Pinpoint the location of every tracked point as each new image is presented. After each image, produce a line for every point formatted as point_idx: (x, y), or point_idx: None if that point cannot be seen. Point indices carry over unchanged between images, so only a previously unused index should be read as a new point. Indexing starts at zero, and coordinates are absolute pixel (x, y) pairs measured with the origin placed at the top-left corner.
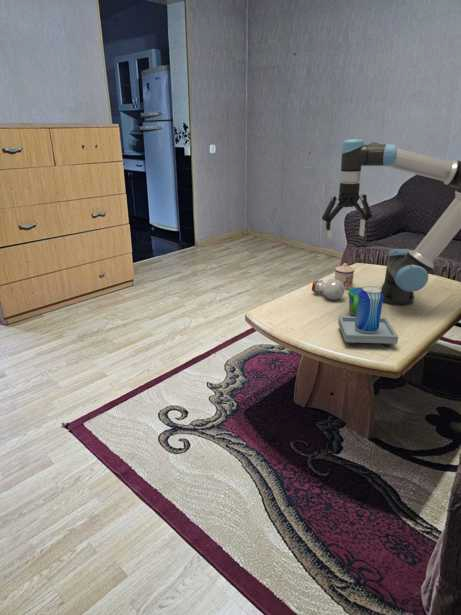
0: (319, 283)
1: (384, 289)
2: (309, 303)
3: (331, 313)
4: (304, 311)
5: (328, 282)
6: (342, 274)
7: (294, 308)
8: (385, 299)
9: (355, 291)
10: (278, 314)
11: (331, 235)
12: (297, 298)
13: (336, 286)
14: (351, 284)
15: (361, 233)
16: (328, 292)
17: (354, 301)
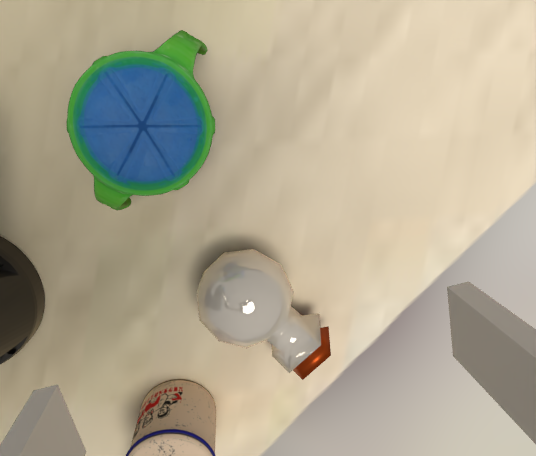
0: (304, 339)
1: (2, 298)
2: (347, 227)
3: (275, 126)
4: (383, 143)
5: (277, 306)
6: (186, 427)
7: (417, 172)
8: (14, 257)
9: (171, 148)
10: (492, 107)
11: (475, 302)
12: (385, 275)
13: (243, 274)
14: (144, 405)
15: (54, 425)
16: (275, 261)
17: (193, 45)
